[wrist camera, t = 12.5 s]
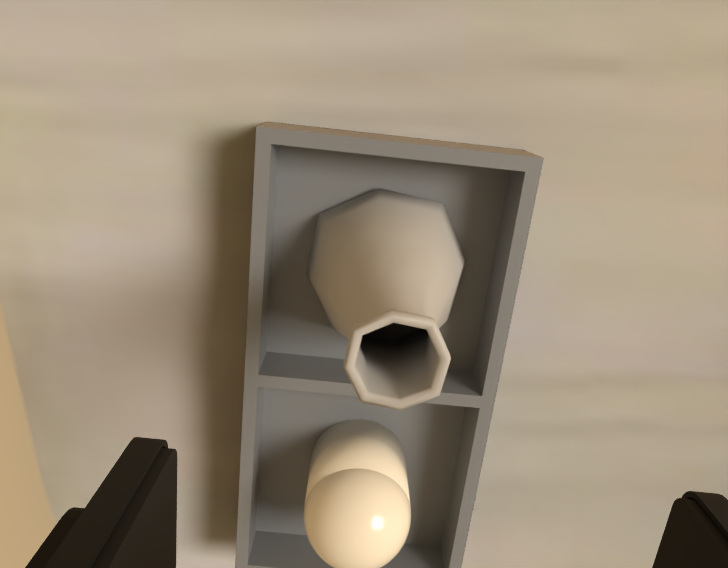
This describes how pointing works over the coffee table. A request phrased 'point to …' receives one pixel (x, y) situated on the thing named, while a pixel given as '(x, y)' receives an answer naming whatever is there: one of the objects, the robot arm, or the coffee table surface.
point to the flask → (388, 292)
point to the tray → (328, 347)
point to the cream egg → (357, 495)
